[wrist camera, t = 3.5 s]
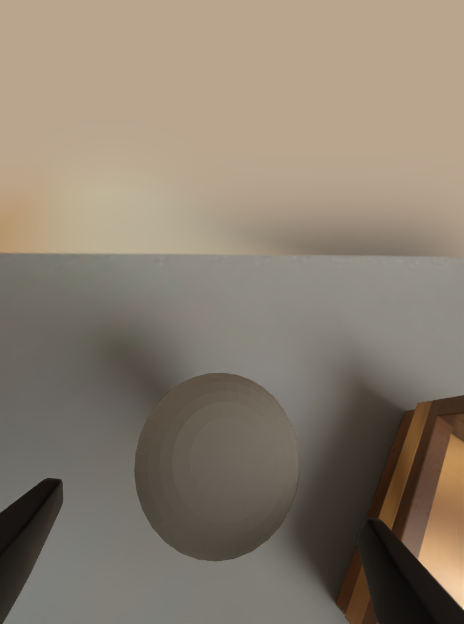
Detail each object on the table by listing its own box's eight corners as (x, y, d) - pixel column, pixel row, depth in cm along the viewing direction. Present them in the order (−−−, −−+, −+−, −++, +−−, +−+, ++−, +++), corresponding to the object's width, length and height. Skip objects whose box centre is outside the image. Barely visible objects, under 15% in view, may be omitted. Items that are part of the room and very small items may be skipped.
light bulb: (218, 534, 15) (261, 677, 6) (135, 463, 16) (62, 493, 7) (273, 435, 17) (361, 429, 8) (199, 380, 18) (207, 320, 9)
